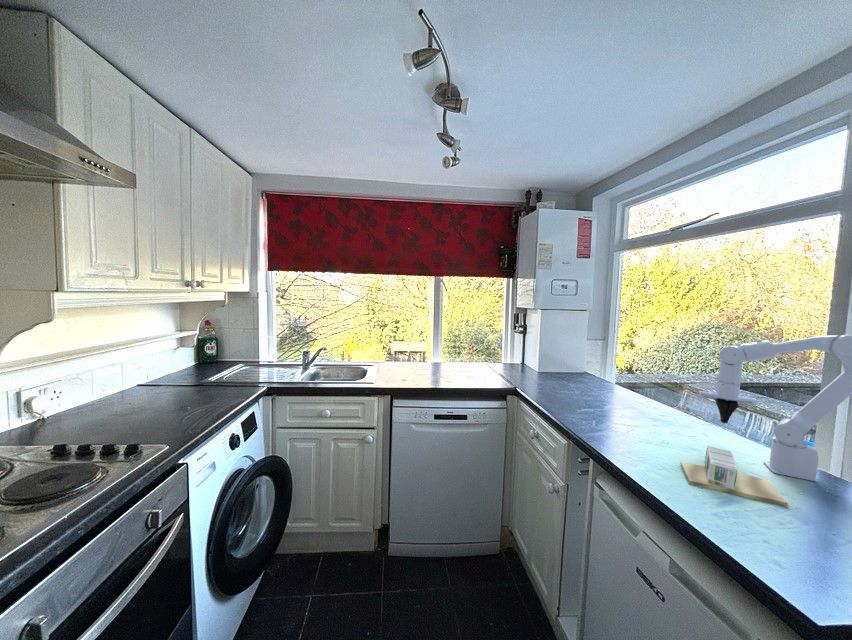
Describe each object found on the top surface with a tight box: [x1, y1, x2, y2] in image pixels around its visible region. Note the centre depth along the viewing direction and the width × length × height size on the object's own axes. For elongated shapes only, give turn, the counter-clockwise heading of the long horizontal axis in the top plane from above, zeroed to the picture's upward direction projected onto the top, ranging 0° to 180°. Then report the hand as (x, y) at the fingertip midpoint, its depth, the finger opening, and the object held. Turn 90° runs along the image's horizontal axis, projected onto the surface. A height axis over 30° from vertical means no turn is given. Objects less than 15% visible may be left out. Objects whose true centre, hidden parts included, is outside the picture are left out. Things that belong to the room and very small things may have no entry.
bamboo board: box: [680, 461, 789, 508], centre depth 98 cm, size 20×13×1 cm, turn 63°
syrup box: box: [704, 445, 739, 490], centre depth 100 cm, size 6×6×14 cm
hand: (723, 422), depth 118 cm, fingers closed
